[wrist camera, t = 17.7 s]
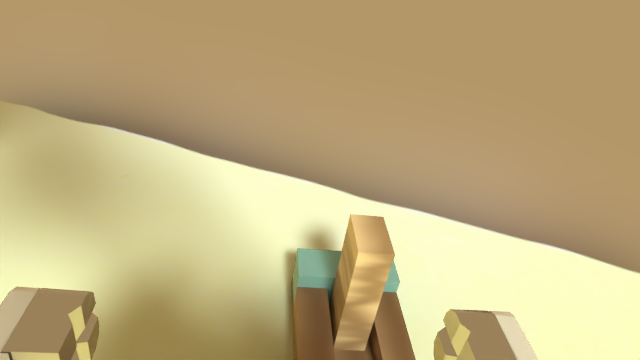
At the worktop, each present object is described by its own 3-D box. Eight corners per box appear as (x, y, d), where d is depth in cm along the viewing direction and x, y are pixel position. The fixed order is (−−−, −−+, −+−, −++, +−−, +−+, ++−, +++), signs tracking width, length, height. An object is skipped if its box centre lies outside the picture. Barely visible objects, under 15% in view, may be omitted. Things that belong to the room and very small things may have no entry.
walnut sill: (297, 481, 34) (307, 444, 31) (291, 282, 50) (297, 248, 48) (429, 480, 35) (449, 445, 32) (381, 287, 52) (391, 254, 49)
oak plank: (333, 349, 43) (358, 252, 36) (328, 307, 47) (350, 214, 41) (364, 350, 43) (394, 254, 37) (357, 309, 47) (383, 217, 41)
